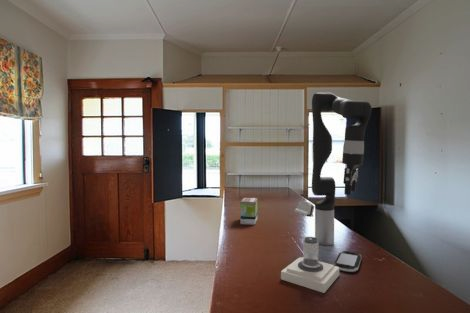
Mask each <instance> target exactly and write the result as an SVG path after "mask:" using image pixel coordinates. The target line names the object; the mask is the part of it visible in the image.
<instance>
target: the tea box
mask: <svg viewBox="0 0 470 313" xmlns="http://www.w3.org/2000/svg"><path fill="white" fill-rule="evenodd" d="M257 221H258V198H257V197H243V198H242V199H241V201H240V225H251V226H253V225H256V223H257Z"/></svg>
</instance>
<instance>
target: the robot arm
mask: <svg viewBox="0 0 470 313" xmlns="http://www.w3.org/2000/svg"><path fill="white" fill-rule="evenodd" d="M372 109H373V108H372V105H371V103H370V102H368V101H366V100H352V99H349V98H345V97H339V96H337V95H336V94H334V93H332V92H315V93H314V94H313V96H312V98H311V114H312V174H311V176H312V177H311V191H312V194H313V195H314V196H325V197H324V198H322V199H321V200H319V201H316V202H314V237H315V238H317V241H318V245H320V246H333V245H334V244H335V202H336V182H335V179H334V178H333V177H332V176H321V173H322V170H323V167H324V165H325V163H326V162H327V160H328V159H329V157H330V155H331V154H332V151H333V137H332V134H331V133H330V132H329V129H328V128H327V127H326V125H325V123H324V121H323V118H322V112H326V113H327V112H328V113H329V112H334V113H335V114H337V115H340V116H342V118H344V119H349V120H356V122H355V124H350V125H347V126H346V127H345V129H344V130H345V131H344V142H343V147H342V148H343V149H342V159H341V160H342V161H341V162H342V164H343V165H347V167H344V171H343V185H344V194H345V195H346V196H350V195H351V194H352V192H355V191H356V189H357V188H356V187H357V186H356V185H357V182H358V179H359V168H360V166H362V165H363V163H364V155H365V133H366V128H367V126H368V123H369V120H370V117H371V115H372V111H373V110H372Z"/></svg>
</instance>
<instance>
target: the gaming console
mask: <svg viewBox="0 0 470 313" xmlns="http://www.w3.org/2000/svg"><path fill="white" fill-rule="evenodd" d="M361 261H362V255H361V254H360V253H358V252H355V251H349V250H343V251H342V252H339V253H338V255H337V257H336V258H335V260H334V262H333V265H334V266H336V267H339V272H343V273H348V274H349V273H351V274H354V273H356V272H357V271H358V270H359V268H360V266H361Z"/></svg>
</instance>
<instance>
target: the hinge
mask: <svg viewBox="0 0 470 313" xmlns="http://www.w3.org/2000/svg"><path fill="white" fill-rule="evenodd" d="M294 212H295V213H298V214H300V215H302V216H306V217H307V216H308V215H309V216H313V214H314V212H315V205H314V204H312V203H311V202H309V201H307V200H301V201H299V202H298V204H297V207H296V208H295V209H294Z"/></svg>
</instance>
